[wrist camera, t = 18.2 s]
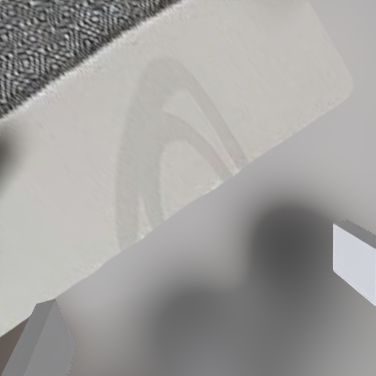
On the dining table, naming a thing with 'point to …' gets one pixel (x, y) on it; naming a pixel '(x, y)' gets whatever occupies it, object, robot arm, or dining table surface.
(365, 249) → the robot arm
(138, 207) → the dining table surface
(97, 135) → the dining table surface
